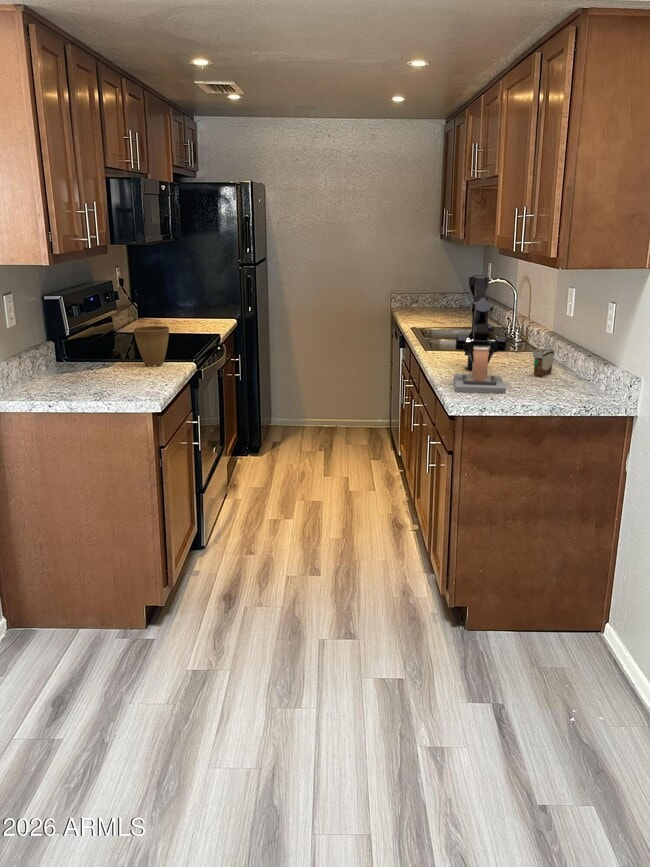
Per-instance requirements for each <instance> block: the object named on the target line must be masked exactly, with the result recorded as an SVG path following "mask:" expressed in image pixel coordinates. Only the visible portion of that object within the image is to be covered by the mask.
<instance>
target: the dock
mask: <svg viewBox="0 0 650 867" xmlns="http://www.w3.org/2000/svg"><path fill="white" fill-rule="evenodd" d="M453 383H454V391H455V393H470V392H488V393H487V394H499V393H505V394H506V390H507V388H506V386H505V383H504V381H503V379H502V376H501V374H487V379H486V380H475V379H472V373H453ZM491 392H492V393H491Z"/></svg>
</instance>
